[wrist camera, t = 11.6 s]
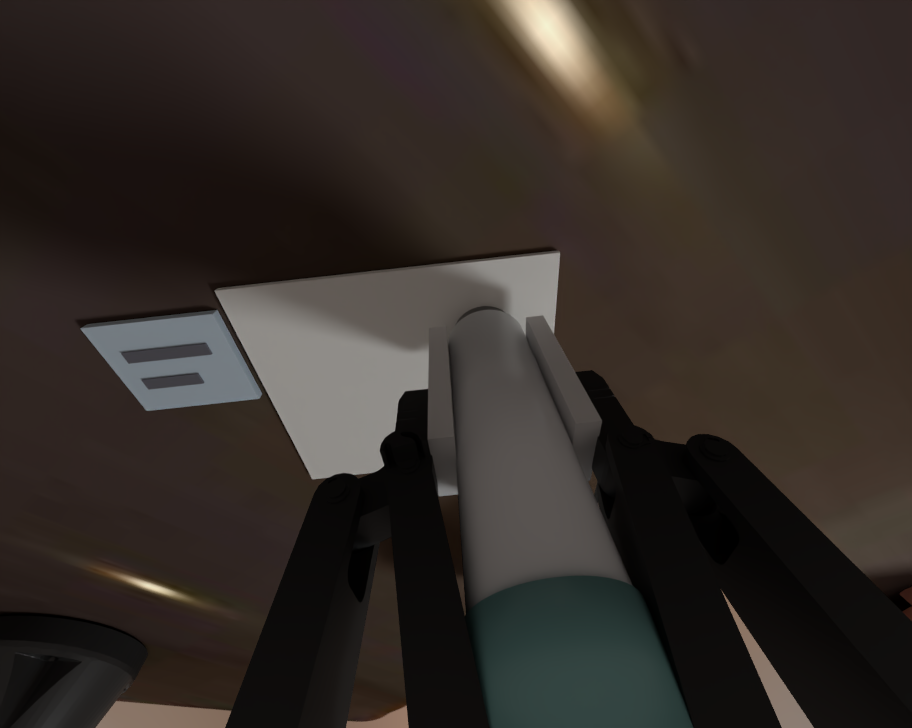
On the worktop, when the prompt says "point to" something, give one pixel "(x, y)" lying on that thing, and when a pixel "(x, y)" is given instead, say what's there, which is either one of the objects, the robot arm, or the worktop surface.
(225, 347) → the word card
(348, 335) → the paper
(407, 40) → the worktop surface
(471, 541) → the marker
